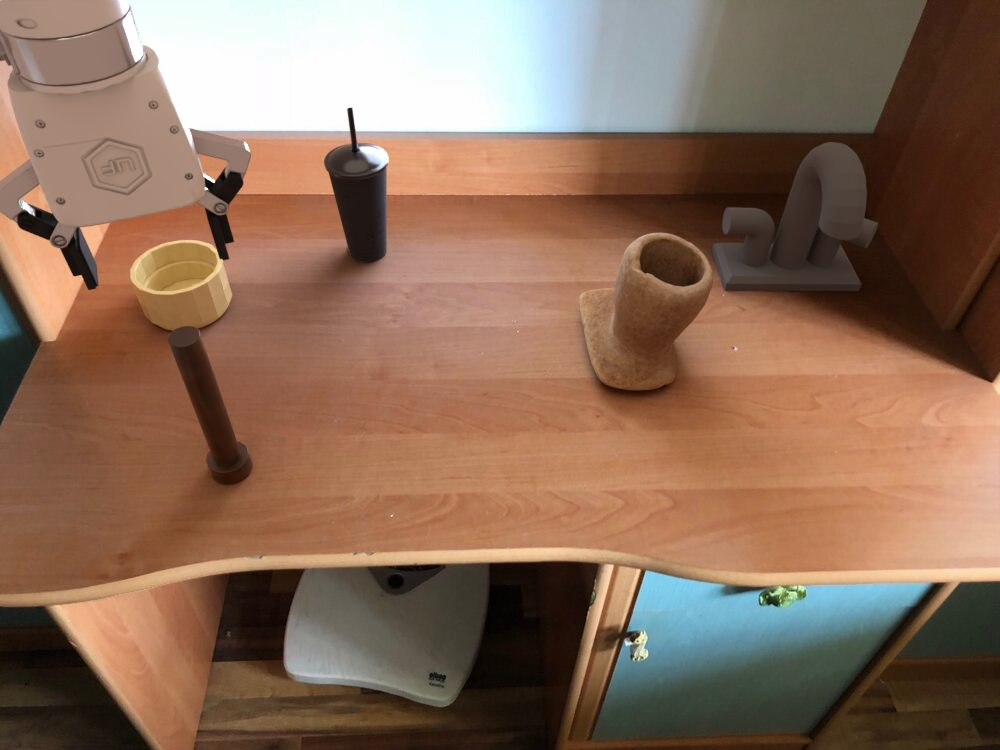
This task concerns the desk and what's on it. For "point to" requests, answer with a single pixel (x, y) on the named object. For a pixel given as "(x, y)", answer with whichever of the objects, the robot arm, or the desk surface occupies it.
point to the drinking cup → (360, 194)
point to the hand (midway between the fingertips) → (159, 264)
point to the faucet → (802, 230)
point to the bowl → (181, 284)
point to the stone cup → (645, 311)
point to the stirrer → (209, 407)
